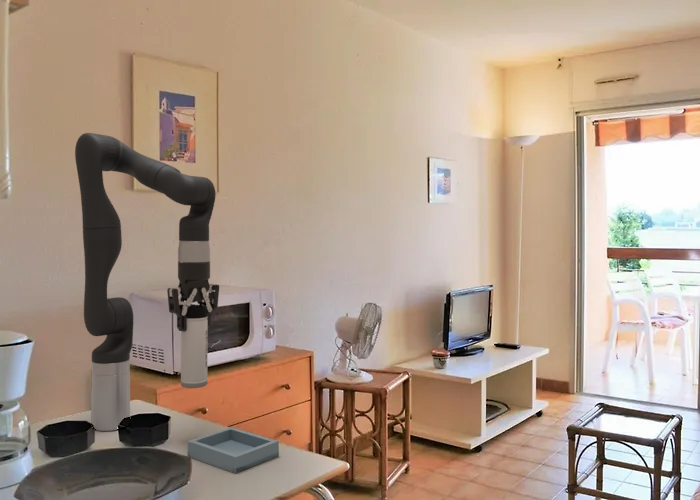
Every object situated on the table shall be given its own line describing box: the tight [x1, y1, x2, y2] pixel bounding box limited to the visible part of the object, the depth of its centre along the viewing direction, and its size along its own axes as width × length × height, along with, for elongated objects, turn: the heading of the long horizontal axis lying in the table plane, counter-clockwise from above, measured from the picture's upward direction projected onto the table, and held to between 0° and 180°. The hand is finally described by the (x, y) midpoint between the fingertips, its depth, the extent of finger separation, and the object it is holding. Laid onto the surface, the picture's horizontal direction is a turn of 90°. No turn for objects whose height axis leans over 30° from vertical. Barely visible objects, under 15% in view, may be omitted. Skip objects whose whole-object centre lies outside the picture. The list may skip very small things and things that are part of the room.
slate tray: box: [187, 426, 280, 474], centre depth 148 cm, size 16×13×4 cm
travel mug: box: [180, 303, 209, 389], centre depth 157 cm, size 6×7×20 cm
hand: (194, 328), depth 157 cm, fingers closed on travel mug, 6 cm apart
